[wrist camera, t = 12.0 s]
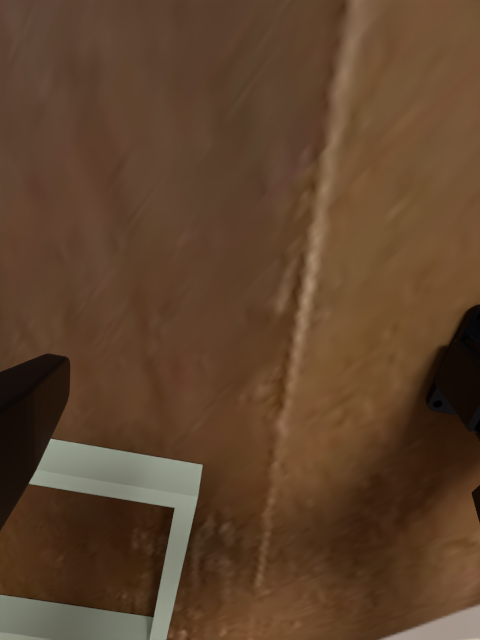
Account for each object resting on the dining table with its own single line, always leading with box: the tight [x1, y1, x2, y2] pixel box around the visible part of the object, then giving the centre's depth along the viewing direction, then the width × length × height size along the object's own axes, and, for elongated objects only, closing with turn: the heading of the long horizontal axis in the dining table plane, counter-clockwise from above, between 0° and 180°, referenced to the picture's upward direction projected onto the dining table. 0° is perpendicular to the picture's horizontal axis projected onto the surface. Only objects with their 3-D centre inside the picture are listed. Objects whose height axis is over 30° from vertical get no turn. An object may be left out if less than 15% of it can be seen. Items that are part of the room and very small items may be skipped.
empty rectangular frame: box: [0, 439, 203, 640], centre depth 29 cm, size 18×18×2 cm
